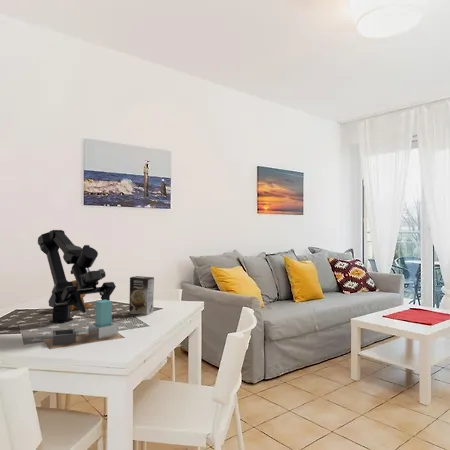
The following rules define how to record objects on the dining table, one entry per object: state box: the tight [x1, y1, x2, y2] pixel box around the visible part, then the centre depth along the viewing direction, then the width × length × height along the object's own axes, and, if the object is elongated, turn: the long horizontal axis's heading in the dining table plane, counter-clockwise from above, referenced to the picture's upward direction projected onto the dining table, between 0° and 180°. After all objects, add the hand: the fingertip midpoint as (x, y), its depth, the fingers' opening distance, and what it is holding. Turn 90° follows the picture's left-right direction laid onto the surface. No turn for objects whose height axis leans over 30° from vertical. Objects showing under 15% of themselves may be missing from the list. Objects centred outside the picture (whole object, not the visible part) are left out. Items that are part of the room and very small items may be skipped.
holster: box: [52, 328, 77, 345], centre depth 129 cm, size 7×7×3 cm
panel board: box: [42, 332, 125, 350], centre depth 133 cm, size 24×12×1 cm, turn 124°
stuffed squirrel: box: [67, 279, 91, 312], centre depth 182 cm, size 10×14×13 cm
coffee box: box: [128, 275, 155, 316], centre depth 176 cm, size 9×6×16 cm
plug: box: [94, 299, 113, 327], centre depth 136 cm, size 4×4×12 cm
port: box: [88, 322, 119, 340], centre depth 136 cm, size 7×7×4 cm
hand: (97, 310), depth 139 cm, fingers open, 9 cm apart
